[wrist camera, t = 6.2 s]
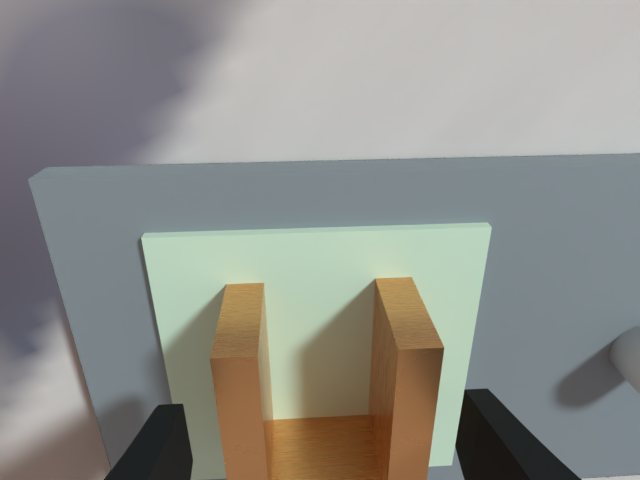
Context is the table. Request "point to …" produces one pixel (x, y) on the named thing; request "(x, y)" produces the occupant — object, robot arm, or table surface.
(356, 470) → the c link
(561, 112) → the table surface
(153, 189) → the peg board
